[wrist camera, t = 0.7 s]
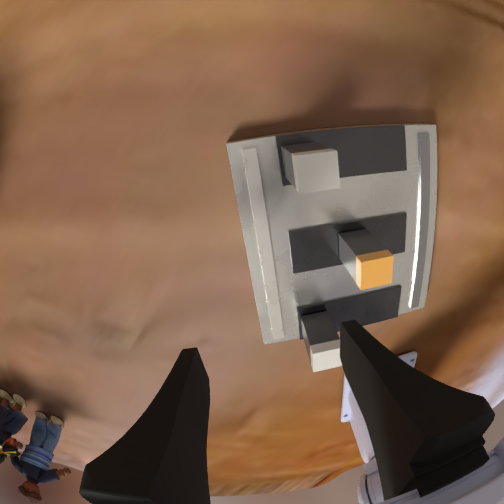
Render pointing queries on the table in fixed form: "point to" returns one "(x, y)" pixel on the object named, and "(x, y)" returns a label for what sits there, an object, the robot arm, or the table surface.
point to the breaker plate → (337, 223)
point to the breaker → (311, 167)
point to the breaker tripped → (365, 258)
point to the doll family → (29, 446)
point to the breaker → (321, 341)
